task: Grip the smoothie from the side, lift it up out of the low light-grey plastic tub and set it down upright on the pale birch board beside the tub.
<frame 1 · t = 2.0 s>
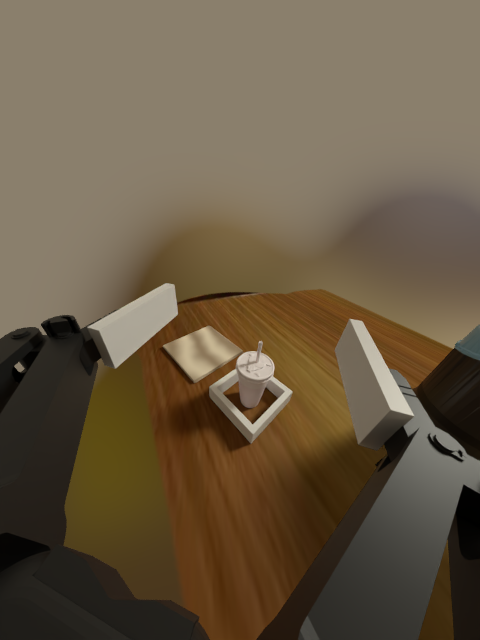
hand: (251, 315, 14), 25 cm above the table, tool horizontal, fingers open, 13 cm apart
board: (203, 350, 46), on the table
smoothie: (249, 399, 35), resting in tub
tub: (249, 399, 35), on the table
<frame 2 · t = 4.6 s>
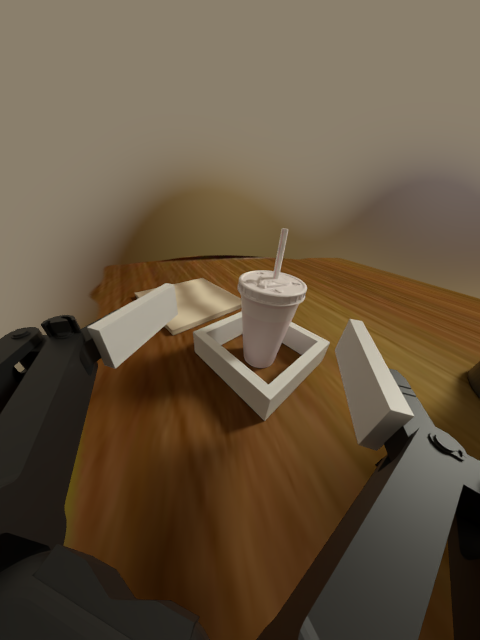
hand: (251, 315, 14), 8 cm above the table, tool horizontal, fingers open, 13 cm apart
board: (191, 301, 32), on the table
smoothie: (258, 357, 22), resting in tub
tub: (258, 356, 22), on the table
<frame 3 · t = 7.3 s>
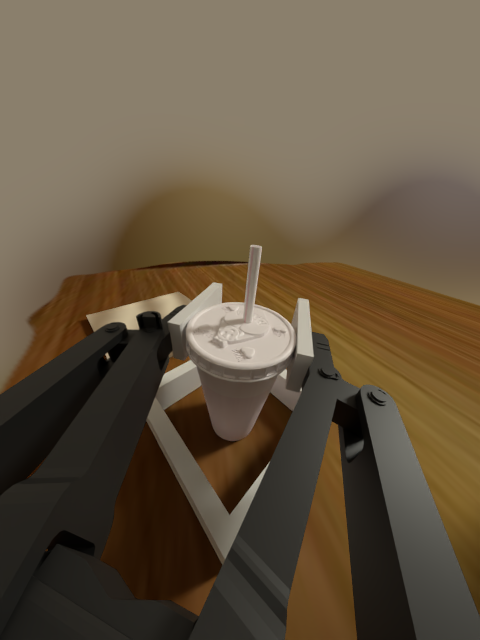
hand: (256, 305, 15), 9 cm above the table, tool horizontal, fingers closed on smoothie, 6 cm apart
board: (158, 325, 26), on the table
smoothie: (232, 418, 16), resting in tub, touching gripper
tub: (232, 417, 16), on the table
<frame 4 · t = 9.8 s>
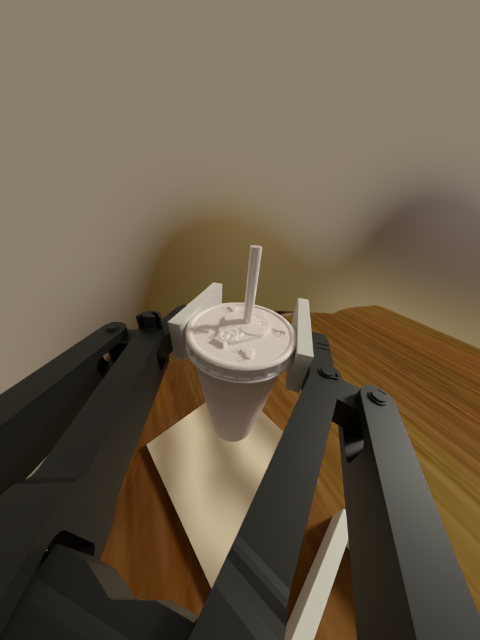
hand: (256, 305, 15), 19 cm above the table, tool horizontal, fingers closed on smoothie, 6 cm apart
board: (227, 453, 23), on the table
smoothie: (232, 419, 16), point 10 cm above the table, touching gripper
when the fingers open (10 cm above the table, at t = 12.3 s): smoothie drops 1 cm, resting on board.
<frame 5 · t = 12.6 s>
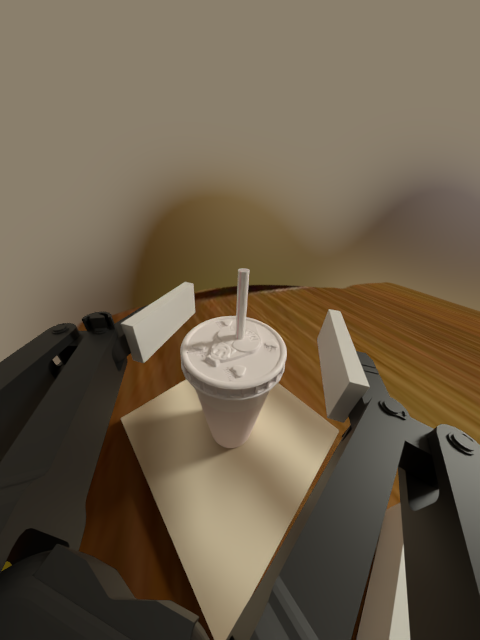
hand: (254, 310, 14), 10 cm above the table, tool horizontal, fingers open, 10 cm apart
board: (231, 429, 17), on the table
smoothie: (231, 425, 16), point 1 cm above the table, touching board
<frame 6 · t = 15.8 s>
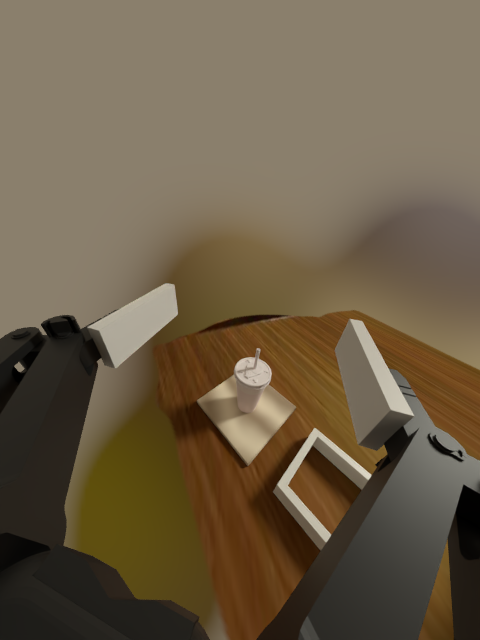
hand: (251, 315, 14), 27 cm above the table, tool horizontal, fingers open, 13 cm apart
board: (246, 406, 36), on the table
smoothie: (246, 404, 36), point 1 cm above the table, touching board
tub: (326, 494, 26), on the table
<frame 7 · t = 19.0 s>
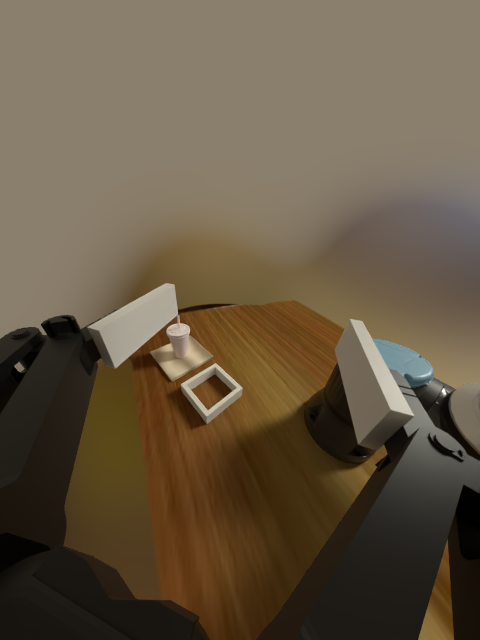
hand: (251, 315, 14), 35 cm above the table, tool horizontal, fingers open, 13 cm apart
board: (182, 356, 57), on the table
smoothie: (181, 354, 57), point 1 cm above the table, touching board
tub: (211, 393, 47), on the table
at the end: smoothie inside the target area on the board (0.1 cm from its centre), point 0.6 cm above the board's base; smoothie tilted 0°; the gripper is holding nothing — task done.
